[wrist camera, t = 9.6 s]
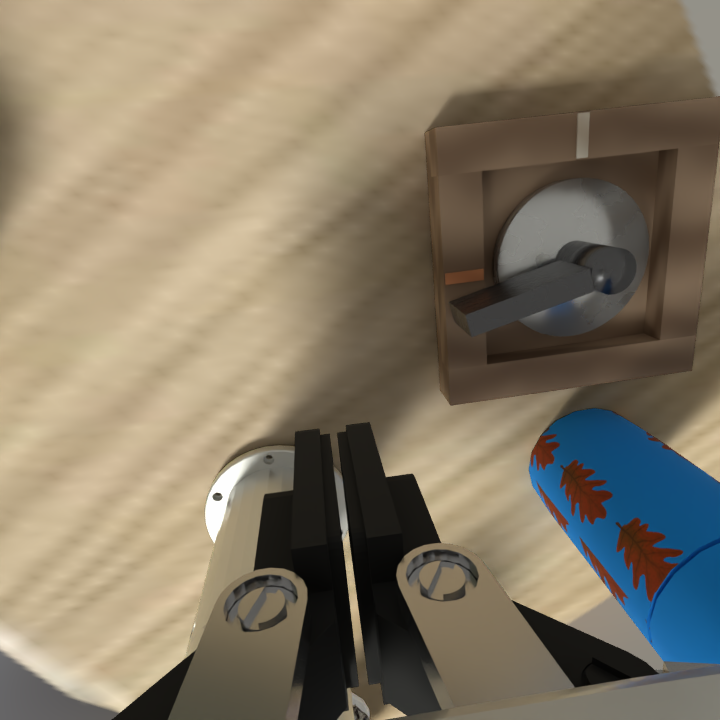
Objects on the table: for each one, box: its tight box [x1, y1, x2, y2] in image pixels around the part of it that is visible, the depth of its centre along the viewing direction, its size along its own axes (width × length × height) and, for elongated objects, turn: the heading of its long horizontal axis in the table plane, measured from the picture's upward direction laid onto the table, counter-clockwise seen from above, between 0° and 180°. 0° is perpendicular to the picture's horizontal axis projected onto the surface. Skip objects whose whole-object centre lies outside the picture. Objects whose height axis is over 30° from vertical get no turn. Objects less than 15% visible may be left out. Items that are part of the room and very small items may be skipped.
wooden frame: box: [425, 96, 720, 405], centre depth 38 cm, size 20×20×3 cm
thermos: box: [529, 408, 720, 664], centre depth 34 cm, size 11×11×25 cm
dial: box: [449, 178, 649, 337], centre depth 35 cm, size 16×12×6 cm
